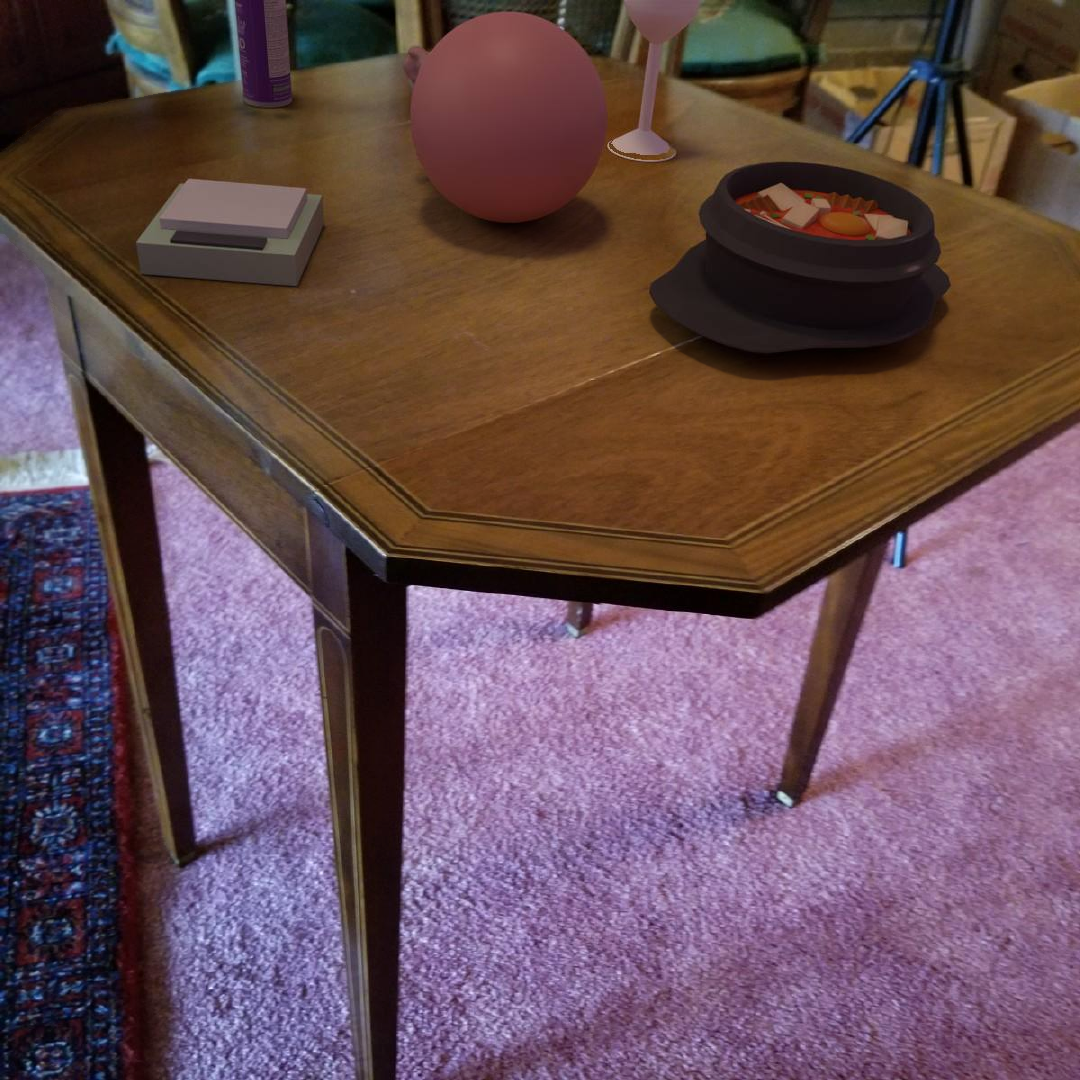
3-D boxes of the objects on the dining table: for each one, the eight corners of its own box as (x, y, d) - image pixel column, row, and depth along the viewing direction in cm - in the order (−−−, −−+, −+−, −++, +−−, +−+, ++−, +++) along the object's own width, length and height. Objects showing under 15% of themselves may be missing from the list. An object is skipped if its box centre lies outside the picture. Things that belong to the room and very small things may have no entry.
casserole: (777, 413, 69) (808, 291, 63) (590, 295, 80) (602, 183, 74) (1001, 320, 82) (1042, 212, 76) (813, 230, 92) (838, 130, 87)
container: (233, 99, 107) (216, -73, 97) (268, 89, 110) (255, -78, 101) (267, 111, 105) (253, -63, 96) (302, 101, 108) (292, -69, 99)
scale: (140, 274, 77) (133, 231, 75) (183, 213, 85) (178, 173, 83) (296, 286, 77) (294, 244, 75) (324, 224, 86) (322, 184, 84)
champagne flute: (598, 137, 107) (630, -150, 91) (663, 136, 108) (704, -146, 93) (618, 162, 102) (654, -137, 86) (685, 161, 103) (733, -133, 88)
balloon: (487, 152, 101) (496, -30, 91) (634, 229, 90) (661, 30, 80) (344, 181, 93) (337, -16, 83) (485, 271, 81) (496, 54, 72)
